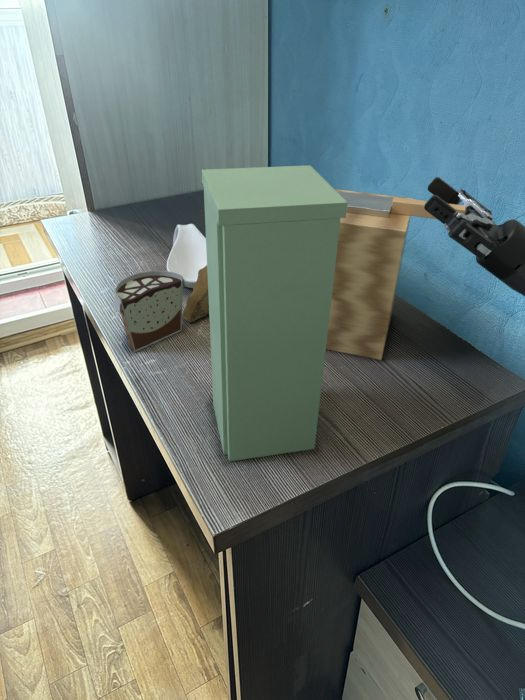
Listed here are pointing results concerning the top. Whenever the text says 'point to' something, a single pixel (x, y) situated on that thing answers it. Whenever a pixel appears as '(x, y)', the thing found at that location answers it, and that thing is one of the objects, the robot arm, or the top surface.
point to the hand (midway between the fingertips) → (430, 191)
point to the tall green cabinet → (269, 303)
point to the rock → (198, 298)
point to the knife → (388, 205)
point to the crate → (365, 281)
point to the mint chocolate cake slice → (150, 306)
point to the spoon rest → (187, 253)
